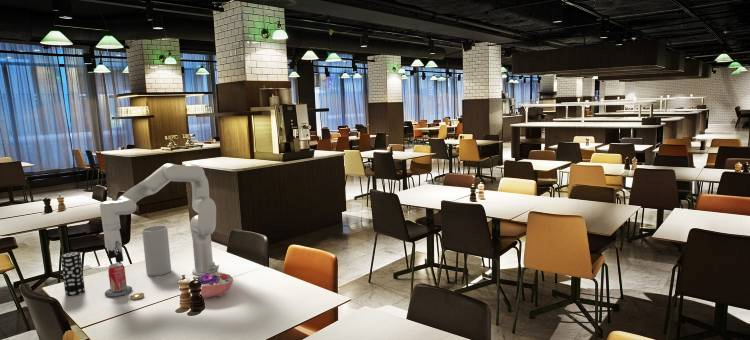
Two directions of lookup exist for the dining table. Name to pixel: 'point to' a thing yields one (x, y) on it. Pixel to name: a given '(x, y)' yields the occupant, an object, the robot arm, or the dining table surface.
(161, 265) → the cylinder vase
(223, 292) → the cell model
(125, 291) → the disc
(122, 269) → the soda can
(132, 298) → the disc
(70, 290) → the white-spotted black cylinder
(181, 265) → the dining table surface
